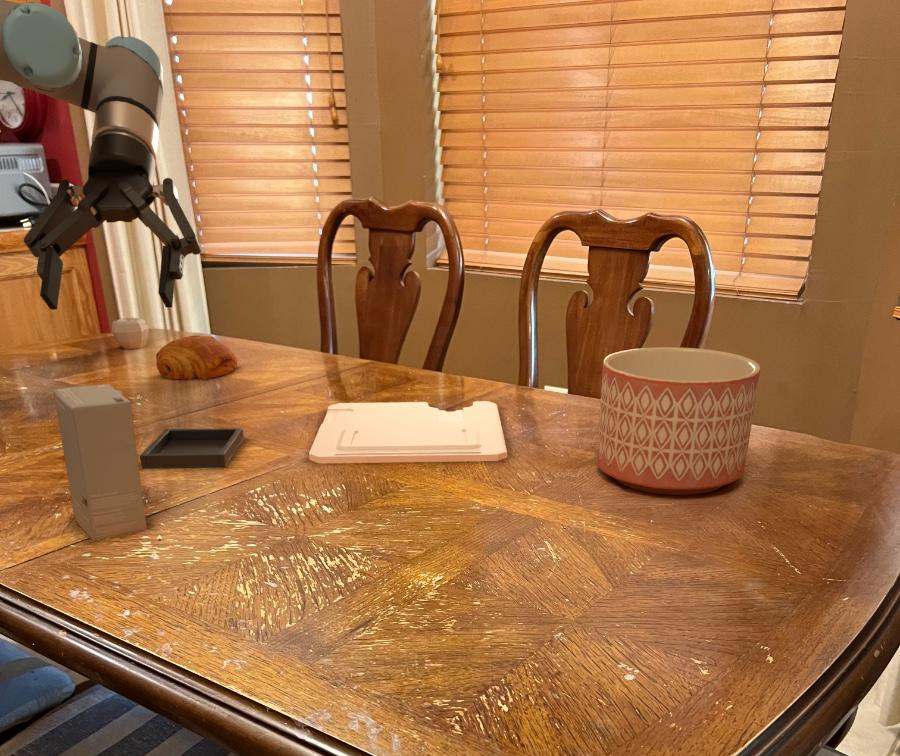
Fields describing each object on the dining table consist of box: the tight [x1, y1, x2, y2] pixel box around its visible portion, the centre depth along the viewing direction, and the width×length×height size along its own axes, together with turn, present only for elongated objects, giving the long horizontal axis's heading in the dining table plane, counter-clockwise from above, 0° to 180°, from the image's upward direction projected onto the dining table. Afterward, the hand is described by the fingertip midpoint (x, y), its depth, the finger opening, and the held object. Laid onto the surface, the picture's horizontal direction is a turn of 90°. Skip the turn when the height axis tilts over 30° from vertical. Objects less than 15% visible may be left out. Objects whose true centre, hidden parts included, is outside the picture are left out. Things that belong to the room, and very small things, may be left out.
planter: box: [595, 346, 761, 496], centre depth 112 cm, size 19×19×15 cm
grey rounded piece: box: [111, 317, 150, 350], centre depth 190 cm, size 8×8×7 cm
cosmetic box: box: [52, 383, 148, 542], centre depth 98 cm, size 8×7×16 cm
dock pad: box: [139, 427, 245, 470], centre depth 124 cm, size 12×13×2 cm
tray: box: [308, 400, 508, 464], centre depth 132 cm, size 28×28×2 cm
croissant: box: [155, 335, 238, 381], centre depth 168 cm, size 14×16×8 cm
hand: (106, 301), depth 100 cm, fingers open, 13 cm apart
